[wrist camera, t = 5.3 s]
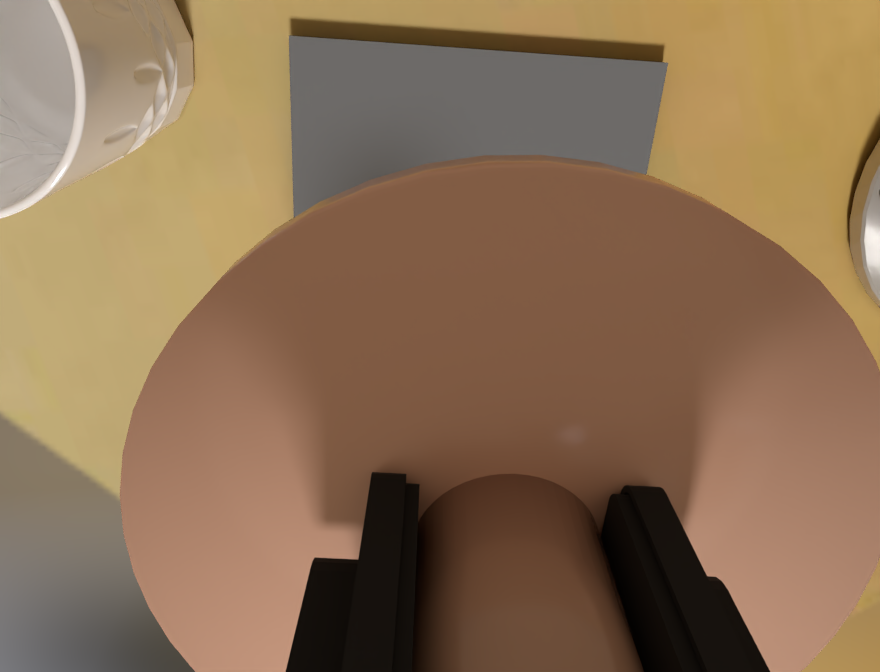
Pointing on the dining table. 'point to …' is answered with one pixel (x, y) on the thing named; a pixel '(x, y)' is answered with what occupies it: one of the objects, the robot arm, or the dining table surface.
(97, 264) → the dining table surface
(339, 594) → the robot arm
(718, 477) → the lid
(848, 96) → the dining table surface
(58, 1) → the white cup
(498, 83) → the mat
